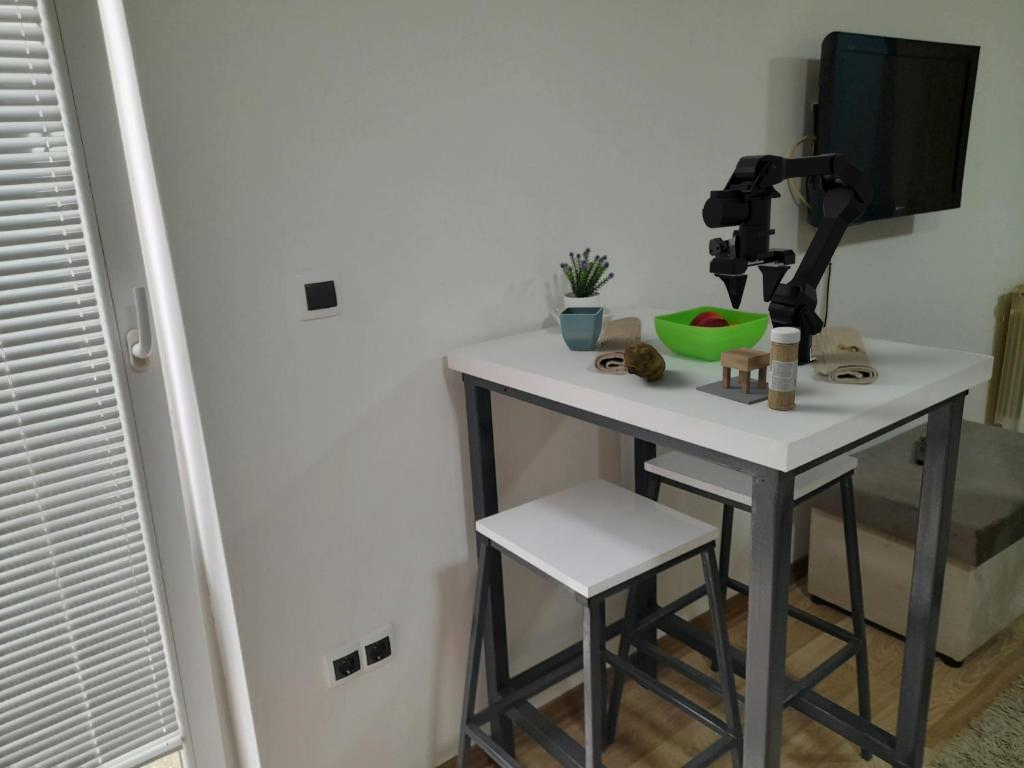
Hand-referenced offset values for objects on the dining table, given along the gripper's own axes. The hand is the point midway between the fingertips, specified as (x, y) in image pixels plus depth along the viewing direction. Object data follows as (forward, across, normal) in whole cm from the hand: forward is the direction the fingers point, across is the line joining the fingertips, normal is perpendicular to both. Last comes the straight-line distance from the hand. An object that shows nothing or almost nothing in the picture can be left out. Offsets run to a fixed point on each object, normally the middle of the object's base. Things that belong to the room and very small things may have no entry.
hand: (751, 305), depth 144 cm
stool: (+12, +12, +8) cm, 19 cm away
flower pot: (+13, +12, -38) cm, 42 cm away
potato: (+13, +20, -9) cm, 25 cm away
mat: (+13, +12, +8) cm, 20 cm away
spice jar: (+13, +15, +19) cm, 28 cm away
